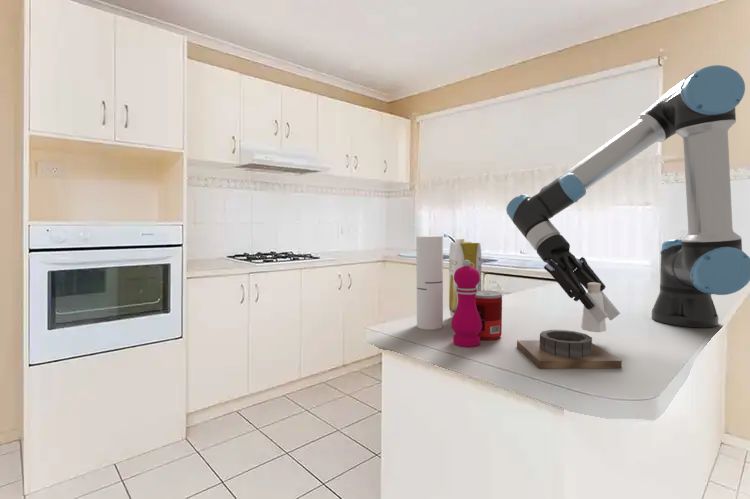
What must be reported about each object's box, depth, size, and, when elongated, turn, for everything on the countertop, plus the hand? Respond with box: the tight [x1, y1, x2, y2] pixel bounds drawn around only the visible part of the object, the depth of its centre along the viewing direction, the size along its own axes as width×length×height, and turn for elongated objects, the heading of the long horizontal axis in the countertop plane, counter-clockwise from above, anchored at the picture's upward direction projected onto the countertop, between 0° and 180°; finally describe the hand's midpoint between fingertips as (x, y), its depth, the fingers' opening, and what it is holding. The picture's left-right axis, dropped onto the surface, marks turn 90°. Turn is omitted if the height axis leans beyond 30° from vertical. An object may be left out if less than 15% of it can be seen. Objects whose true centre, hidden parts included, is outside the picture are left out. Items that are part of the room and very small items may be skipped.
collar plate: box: [516, 329, 623, 369], centre depth 89 cm, size 16×14×4 cm
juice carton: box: [448, 237, 482, 318], centre depth 122 cm, size 9×8×24 cm
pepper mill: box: [450, 260, 482, 348], centre depth 99 cm, size 7×7×20 cm
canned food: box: [475, 290, 503, 341], centre depth 105 cm, size 8×8×11 cm
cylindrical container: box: [415, 234, 444, 331], centre depth 115 cm, size 7×7×25 cm
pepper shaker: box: [580, 282, 607, 333], centre depth 98 cm, size 5×5×11 cm
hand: (609, 318), depth 95 cm, fingers closed on pepper shaker, 4 cm apart
